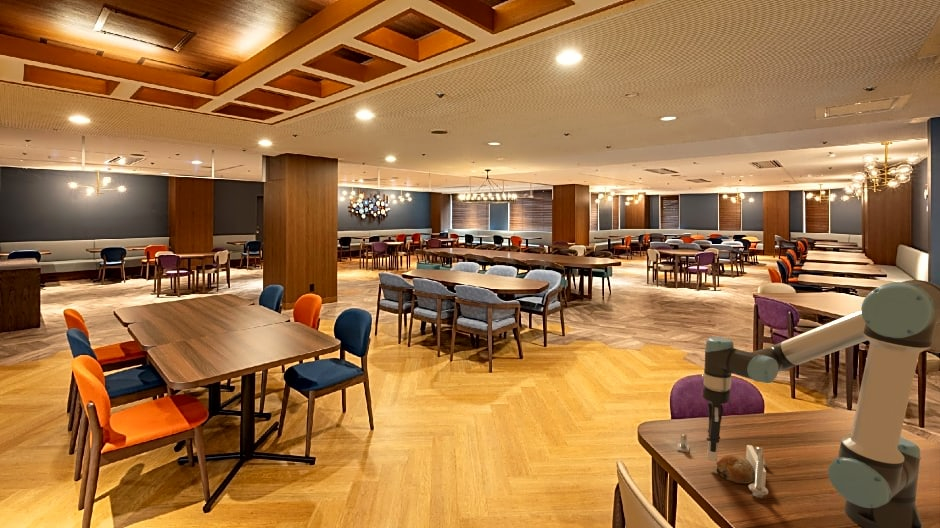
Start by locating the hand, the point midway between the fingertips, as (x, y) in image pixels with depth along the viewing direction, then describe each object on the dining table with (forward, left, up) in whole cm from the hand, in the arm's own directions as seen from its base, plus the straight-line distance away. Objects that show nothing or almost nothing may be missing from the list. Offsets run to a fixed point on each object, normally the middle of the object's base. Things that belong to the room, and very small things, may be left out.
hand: (712, 459), depth 148 cm
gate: (+1, -12, -2) cm, 12 cm away
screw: (-11, -11, -3) cm, 16 cm away
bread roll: (-2, -6, -3) cm, 7 cm away
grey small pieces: (+10, -3, -3) cm, 11 cm away
